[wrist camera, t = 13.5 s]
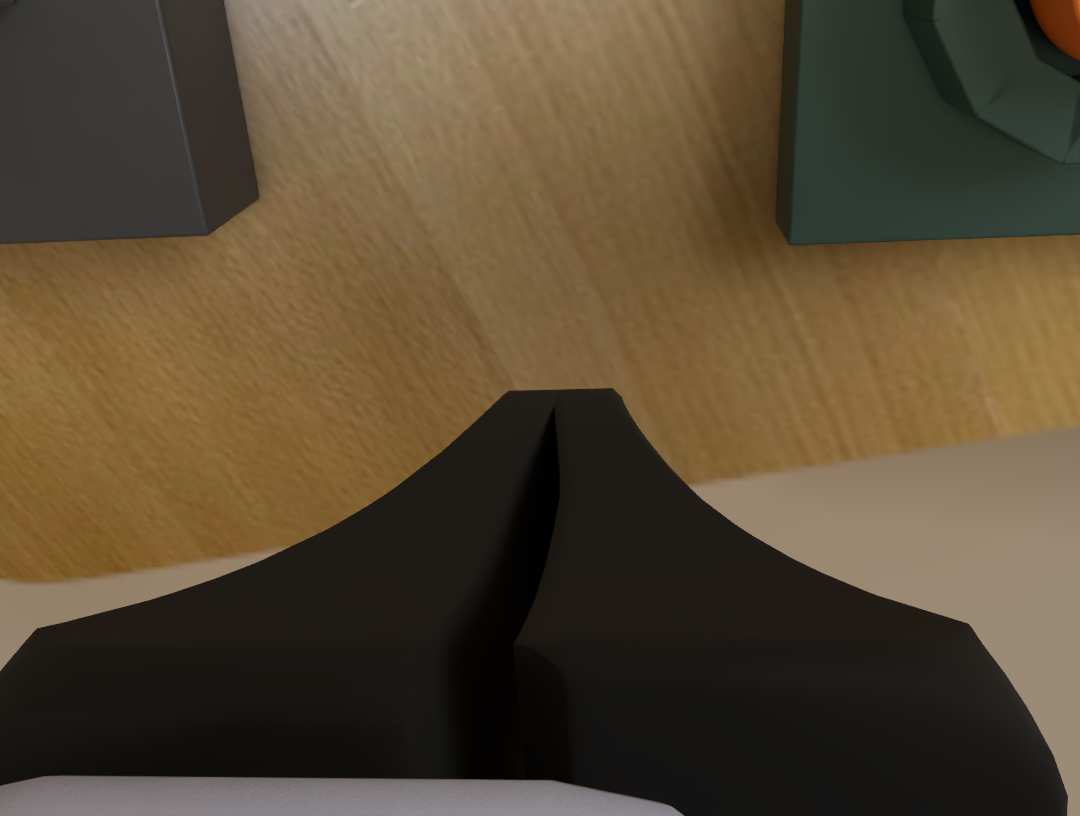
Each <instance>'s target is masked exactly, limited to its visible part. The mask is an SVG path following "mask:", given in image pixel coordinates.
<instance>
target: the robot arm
mask: <svg viewBox="0 0 1080 816" xmlns="http://www.w3.org/2000/svg"><path fill="white" fill-rule="evenodd" d="M1067 803H1068V796H1067V793H1066V790H1065V787H1064V784H1063V782H1062V779H1061V776H1060V773H1059V771H1058V768H1057V764H1056V762H1055V759H1054V756H1053V754H1052V752H1051V750H1050V749H1049V747H1048V745H1047V743H1046V741H1045V739H1044V737H1043V735H1042V734H1041V732H1040V730H1039V728H1038V726H1037V724H1036V723H1035V721H1034V719H1033V717H1032V715H1031V713H1030V712H1029V710H1028V708H1027V707H1026V705H1025V704H1024V702H1023V701H1022V699H1021V697H1020V696H1019V694H1018V693H1017V691H1016V690H1015V688H1014V687H1013V685H1012V684H1011V682H1010V681H1009V679H1008V678H1007V676H1006V674H1005V673H1004V672H1003V670H1002V669H1001V668H1000V666H999V665H998V664H997V663H996V661H995V660H994V659H993V657H992V656H991V655H990V653H989V652H988V651H987V650H986V648H985V647H984V645H983V644H982V643H981V641H980V640H979V638H978V637H977V635H976V634H975V632H974V630H973V629H972V627H971V626H970V625H969V624H968V623H964V622H961V621H958V620H955V619H951V618H948V617H945V616H942V615H938V614H935V613H932V612H929V611H926V610H922V609H919V608H916V607H913V606H909V605H906V604H902V603H900V602H896V601H893V600H890V599H887V598H883V597H880V596H877V595H875V594H872V593H869V592H866V591H864V590H862V589H859V588H857V587H854V586H852V585H850V584H847V583H845V582H842V581H840V580H838V579H835V578H833V577H830V576H828V575H826V574H823V573H821V572H819V571H817V570H815V569H813V568H811V567H809V566H807V565H804V564H802V563H800V562H798V561H796V560H794V559H792V558H790V557H789V556H787V555H785V554H783V553H782V552H780V551H778V550H776V549H775V548H773V547H771V546H769V545H767V544H766V543H764V542H762V541H761V540H759V539H757V538H755V537H754V536H752V535H751V534H749V533H747V532H746V531H744V530H743V529H741V528H740V527H738V526H737V525H735V524H734V523H732V522H731V521H730V520H728V519H727V518H726V517H724V516H723V515H722V514H721V513H719V512H718V511H717V510H715V509H714V508H712V507H711V506H710V505H709V504H707V503H706V502H705V501H703V500H702V499H701V498H700V497H699V496H698V495H697V494H696V493H695V492H694V491H693V490H692V489H690V487H689V486H688V485H687V484H686V483H685V482H684V481H683V480H682V479H681V478H680V477H679V476H678V475H677V474H676V473H675V472H674V471H673V470H672V469H671V468H670V467H669V466H668V464H667V463H666V462H665V461H664V460H663V459H662V457H661V456H660V455H659V454H658V452H657V451H656V450H655V449H654V448H653V446H652V445H651V444H650V443H649V441H648V440H647V439H646V437H645V436H644V435H643V433H642V432H641V431H640V429H639V428H638V426H637V425H636V423H635V422H634V420H633V419H632V417H631V415H630V414H629V412H628V410H627V408H626V407H625V404H624V402H623V400H622V397H621V396H620V395H619V394H618V393H617V392H616V391H615V390H614V389H613V388H604V389H565V390H526V391H508V392H507V393H506V394H504V395H503V396H502V397H501V398H500V399H499V400H498V401H497V402H496V403H495V404H493V405H492V406H491V407H490V408H489V409H488V410H487V411H486V412H485V413H484V414H483V415H482V416H481V417H480V418H479V419H478V420H477V421H476V422H475V423H473V424H472V425H471V426H470V427H469V428H468V429H467V430H466V431H464V432H463V433H462V434H461V435H460V436H459V437H458V438H457V439H456V440H454V441H453V442H452V443H451V444H450V445H449V446H448V447H447V448H446V449H444V450H443V451H442V452H441V453H439V454H438V455H437V456H436V457H434V458H433V459H432V460H430V461H429V462H428V463H427V464H425V465H424V466H423V467H421V468H420V469H419V470H418V471H416V472H415V473H414V474H412V475H411V476H410V477H409V478H407V479H406V480H405V481H403V482H402V483H401V484H399V485H398V486H397V487H395V488H394V489H393V490H391V491H390V492H388V493H387V494H385V495H384V496H382V497H381V498H379V499H378V500H376V501H375V502H373V503H372V504H370V505H368V506H367V507H365V508H363V509H362V510H360V511H358V512H357V513H355V514H353V515H352V516H350V517H348V518H346V519H345V520H343V521H341V522H340V523H338V524H336V525H334V526H332V527H331V528H329V529H327V530H325V531H323V532H321V533H319V534H317V535H315V536H313V537H310V538H308V539H306V540H304V541H302V542H300V543H298V544H296V545H293V546H291V547H289V548H287V549H285V550H283V551H281V552H279V553H276V554H274V555H272V556H270V557H268V558H266V559H264V560H262V561H259V562H257V563H255V564H252V565H250V566H247V567H244V568H242V569H239V570H237V571H234V572H231V573H229V574H226V575H223V576H221V577H218V578H216V579H213V580H210V581H207V582H204V583H201V584H198V585H195V586H192V587H189V588H186V589H183V590H181V591H177V592H175V593H171V594H168V595H165V596H161V597H158V598H155V599H152V600H149V601H145V602H141V603H137V604H133V605H129V606H126V607H122V608H118V609H114V610H110V611H106V612H102V613H99V614H95V615H91V616H87V617H83V618H79V619H76V620H72V621H68V622H64V623H60V624H55V625H50V626H46V627H41V628H37V629H36V630H35V631H34V632H33V633H32V635H31V636H30V637H29V638H28V639H27V640H26V641H25V643H24V644H23V645H22V646H21V647H20V648H19V650H18V651H17V652H16V653H15V654H14V655H13V657H12V658H11V659H10V660H9V662H8V663H7V664H6V665H5V666H4V668H3V669H2V670H1V671H0V816H1067Z"/></svg>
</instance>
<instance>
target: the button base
mask: <svg viewBox="0 0 1080 816" xmlns="http://www.w3.org/2000/svg"><path fill="white" fill-rule="evenodd" d="M776 223H777V225H778V227H779V229H780V230H781V232H782V234H783V235H784V237H785V239H786V241H787V242H788V244H789V245H814V244H841V243H867V242H894V241H920V240H947V239H973V238H999V237H1026V236H1052V235H1079V234H1080V62H1079V61H1077V60H1075V59H1073V58H1071V57H1069V56H1068V55H1066V54H1065V53H1064V52H1062V51H1061V50H1059V49H1058V48H1057V47H1056V46H1055V45H1054V44H1053V43H1052V42H1051V41H1050V40H1049V39H1048V37H1047V36H1046V35H1045V33H1044V32H1043V31H1042V29H1041V27H1040V25H1039V24H1038V22H1037V20H1036V18H1035V16H1034V13H1033V10H1032V7H1031V4H1030V0H786V10H785V32H784V53H783V75H782V97H781V119H780V141H779V163H778V184H777V206H776Z"/></svg>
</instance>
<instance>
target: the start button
mask: <svg viewBox="0 0 1080 816" xmlns="http://www.w3.org/2000/svg"><path fill="white" fill-rule="evenodd" d="M1030 4H1031V7H1032V10H1033V13H1034V16H1035V18H1036V20H1037V22H1038V24H1039V25H1040V27H1041V29H1042V31H1043V32H1044V33H1045V35H1046V36H1047V37H1048V39H1049V40H1050V41H1051V42H1052V43H1053V44H1054V45H1055V46H1056V47H1057V48H1058V49H1059V50H1061V51H1062V52H1064V53H1065V54H1066V55H1068V56H1069V57H1071V58H1073V59H1075V60H1077V61H1079V62H1080V0H1030Z"/></svg>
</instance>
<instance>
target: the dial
mask: <svg viewBox="0 0 1080 816" xmlns="http://www.w3.org/2000/svg"><path fill="white" fill-rule="evenodd" d="M12 4H14V0H0V7H3V6H11V5H12Z"/></svg>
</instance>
